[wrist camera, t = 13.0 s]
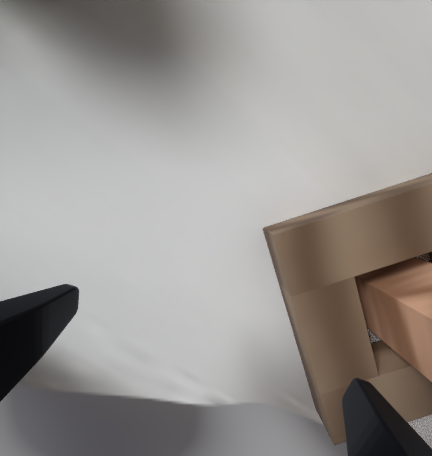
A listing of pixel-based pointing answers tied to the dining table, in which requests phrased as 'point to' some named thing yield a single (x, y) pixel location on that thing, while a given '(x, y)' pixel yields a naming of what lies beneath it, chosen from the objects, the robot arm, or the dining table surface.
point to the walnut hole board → (351, 294)
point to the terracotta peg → (401, 309)
